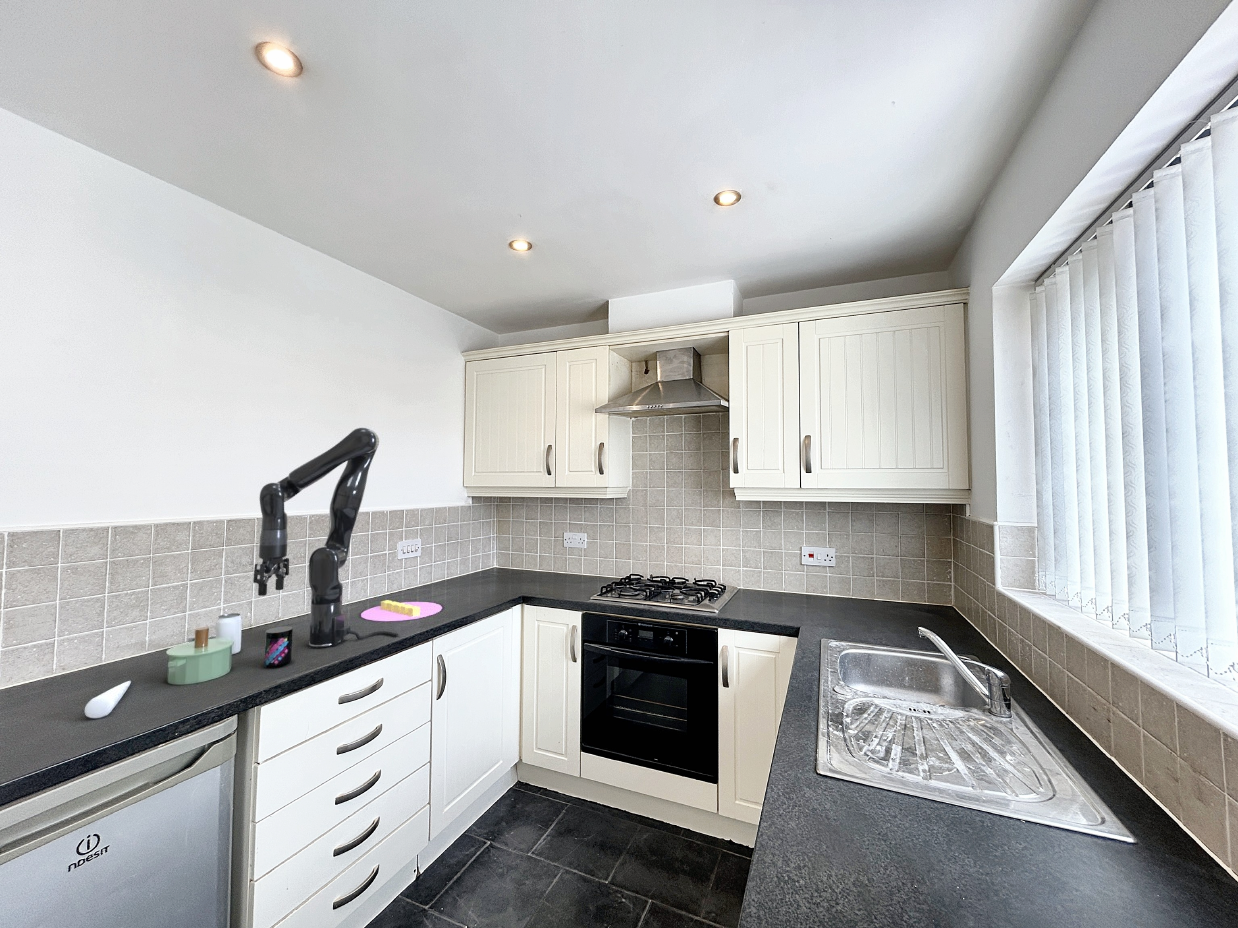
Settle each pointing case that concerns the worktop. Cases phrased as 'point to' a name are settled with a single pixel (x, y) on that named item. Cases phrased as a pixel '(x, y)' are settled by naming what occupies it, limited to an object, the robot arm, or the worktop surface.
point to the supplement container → (278, 647)
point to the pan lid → (200, 645)
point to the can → (230, 629)
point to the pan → (199, 667)
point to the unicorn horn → (105, 701)
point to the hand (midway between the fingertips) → (271, 592)
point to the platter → (400, 611)
